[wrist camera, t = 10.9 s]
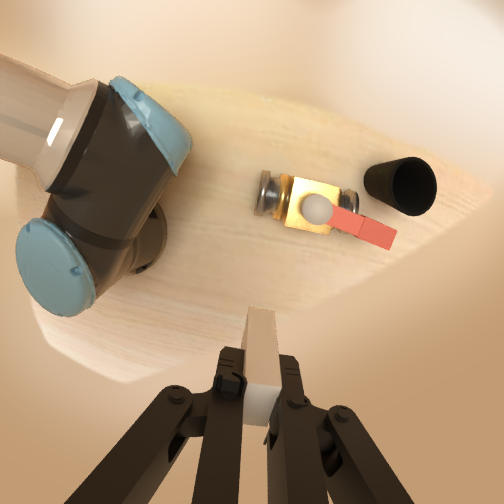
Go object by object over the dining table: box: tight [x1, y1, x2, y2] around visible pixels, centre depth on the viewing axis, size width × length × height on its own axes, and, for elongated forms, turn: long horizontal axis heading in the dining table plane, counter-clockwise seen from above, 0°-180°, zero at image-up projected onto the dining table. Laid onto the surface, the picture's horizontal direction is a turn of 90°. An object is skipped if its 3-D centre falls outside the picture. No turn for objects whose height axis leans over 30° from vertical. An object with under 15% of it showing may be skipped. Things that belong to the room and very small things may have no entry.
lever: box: [301, 194, 397, 250], centre depth 33 cm, size 13×4×2 cm, turn 71°
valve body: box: [254, 170, 359, 235], centre depth 39 cm, size 14×7×10 cm, turn 79°
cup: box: [364, 157, 437, 216], centre depth 36 cm, size 8×8×12 cm
